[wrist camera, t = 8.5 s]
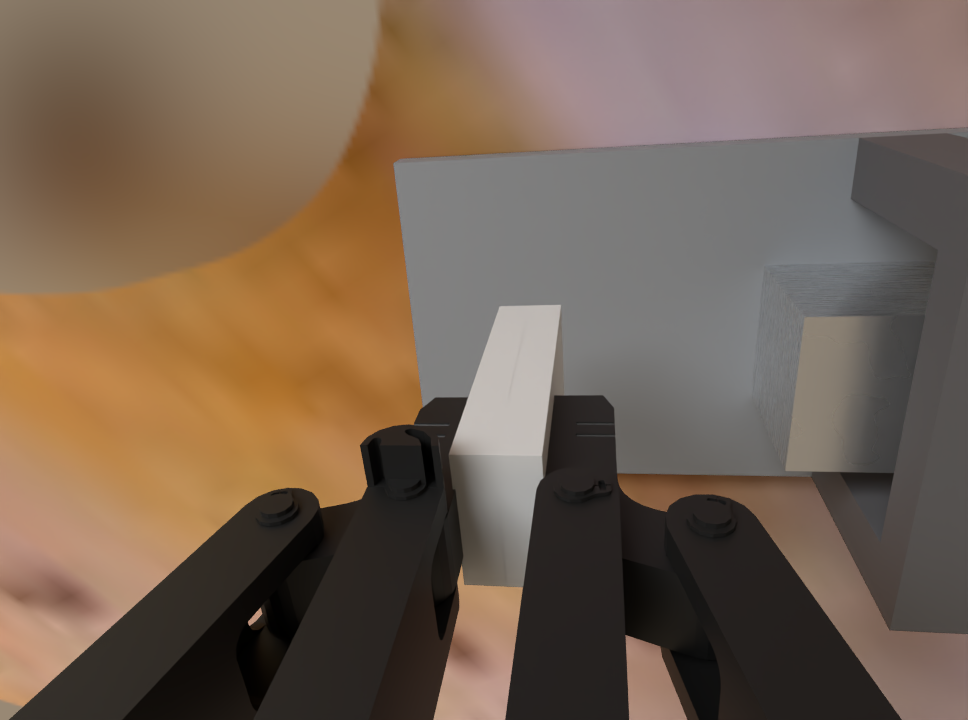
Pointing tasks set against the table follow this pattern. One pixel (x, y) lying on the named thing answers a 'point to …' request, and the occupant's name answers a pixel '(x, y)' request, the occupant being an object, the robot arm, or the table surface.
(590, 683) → the robot arm
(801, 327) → the grey block
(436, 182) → the grey angular piece
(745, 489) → the table surface
